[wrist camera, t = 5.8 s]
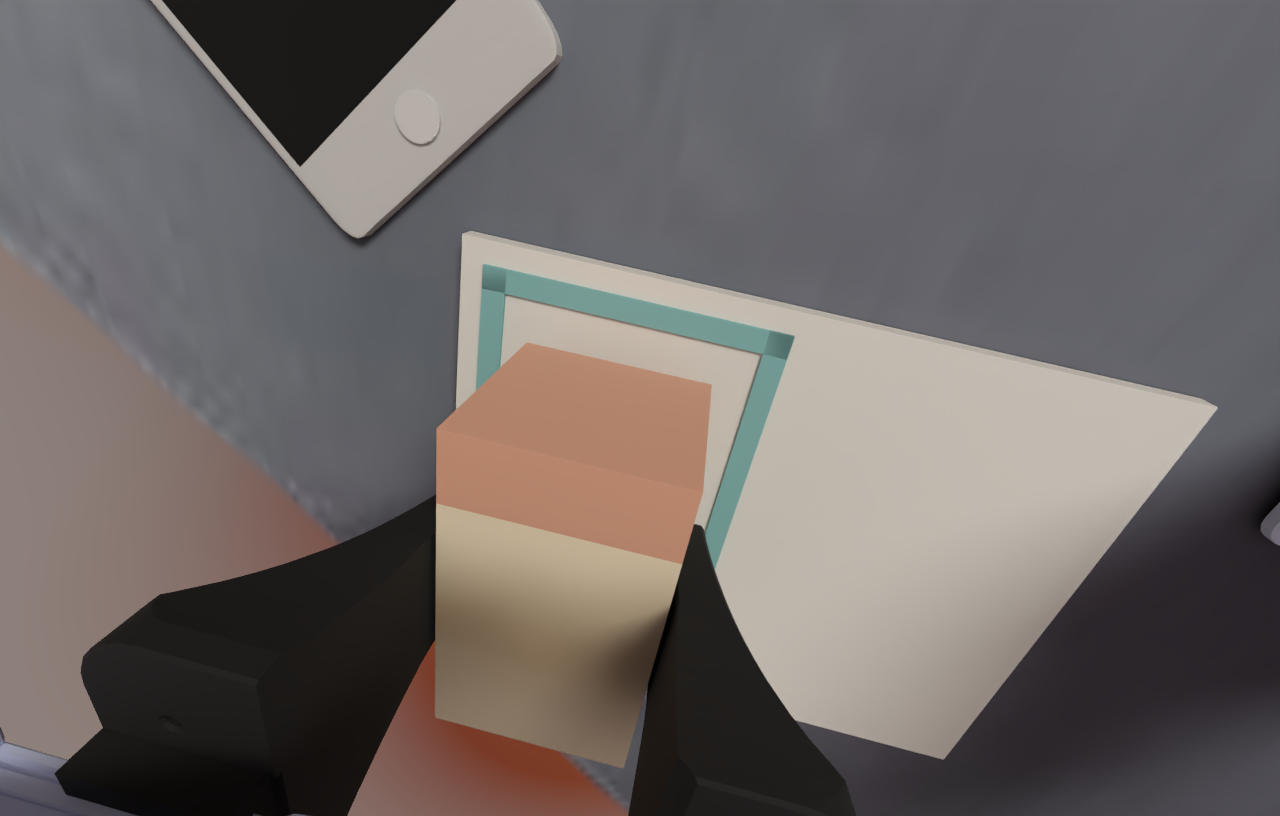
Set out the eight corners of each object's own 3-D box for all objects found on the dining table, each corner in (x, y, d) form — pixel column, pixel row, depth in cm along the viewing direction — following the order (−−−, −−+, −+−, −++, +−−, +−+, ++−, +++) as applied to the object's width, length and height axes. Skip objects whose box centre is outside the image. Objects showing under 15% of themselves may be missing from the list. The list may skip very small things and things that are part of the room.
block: (649, 617, 16) (623, 768, 12) (505, 580, 17) (435, 717, 13) (712, 384, 13) (702, 492, 9) (527, 342, 13) (436, 428, 9)
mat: (1201, 398, 13) (1222, 409, 12) (938, 745, 19) (944, 762, 18) (470, 231, 14) (460, 234, 13) (454, 616, 20) (446, 629, 19)
